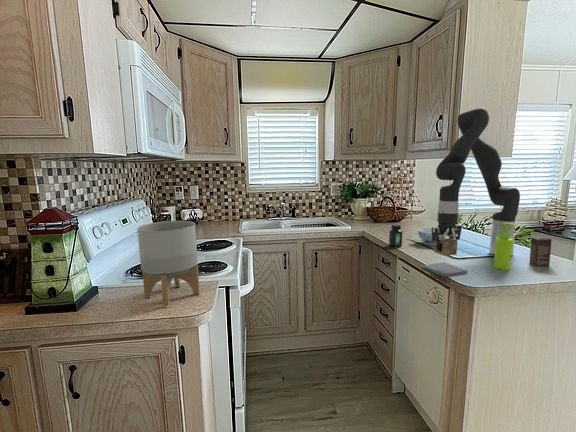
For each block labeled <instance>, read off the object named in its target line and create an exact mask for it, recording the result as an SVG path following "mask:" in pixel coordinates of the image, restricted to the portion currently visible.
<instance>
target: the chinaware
mask: <svg viewBox="0 0 576 432" xmlns="http://www.w3.org/2000/svg"><path fill="white" fill-rule="evenodd" d="M417 234H418V237H419V238H420V239H421V240H422V241H423V242H424V244H425V245H427V244H428V246H435V241H432V227H422V228H421V227H420V228H417ZM441 236H442V235H441ZM435 239H436V237H435Z"/></svg>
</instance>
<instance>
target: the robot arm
mask: <svg viewBox="0 0 576 432" xmlns="http://www.w3.org/2000/svg"><path fill="white" fill-rule="evenodd" d="M489 120H490V115H489V113H488V110H487V109H486V108H484V107H478V108H475V109H471V110H468V111H465V112H462V113H460V114H459V115H458V117H457V125H458V128H459V131H460V132H461V136H460V137H459V138H458V139H457V140H456V141H455V142H454V143H453V145H452V146H451V149H450V151H449V153H448V154H447V156H446V157H444V158H443V159H442V161H441V162H439V164H438V166H437V167H436V169H435V175H436V177H437V179H439V180H440V181H452V183H451V184H450V185H443V186H441V187H440V189H439V200H438V201H439V202H438V205H437V221H436V222H437V223H438V225H437V226H436V227H431V228H432V241H435V242H436V250H437V251H438V252H442V241H443V239H445V238H446V237H447V238H450V239H453V240H458V241H459V240H460V239H461V234H462V230H463V229H462V228H463V226H462V225H459V224H458V225H457V223H458V221H459V220H458V219H459V217H458V216H459V206H460V205H459V194H460V189H461V185H462V183H463V180H464V178H465V175H466V170H467V169H466V166H465V165H464V164H465V162H466V161H467V159H468V157H469V154H470V151H471V153H472V155H473V158H474V159H475V163H476V164H477V168H478V169H479V171H480V173H481V176H482V178H483V181H484V183H485V186H486V189H487V193H488V197H489V199H490V202H492V204H493V205H496V206H501V207H502V210H501V211H498V212H495V213H493V214H492V222H491V230H490V231H491V233H490V243H489V253H490V254H491V255H493V254H495V247H496V238H497V237H500V231H501V230H502V229H503V224H501V223H513V224H516V217H517V215H518V212H519V207H520V200H521V193H520V190H519V189H518V188H517V187H509V186H503V185H502V184H501V182H500V179H499V177H500V172H501V169H502V160H501V157H500V155H499V152H498V150H497V149H496V148H495V147H494V146H493V145H491V144H490V143H488V142H486V141H485V140H483V139H482V138H481V135H482V134H483V132H484V131H485V129H486V128H487V127H488V124H489ZM515 227H516V226H511V225H508V230H509V231H510V237H509V238H511V239H513V244H512V254H511V256H512V255H514V248H515V238H516V237H515V229H516V228H515ZM441 235H442V236H441ZM435 237H436V239H435ZM439 239H440V240H439Z"/></svg>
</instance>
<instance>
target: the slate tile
mask: <svg viewBox="0 0 576 432" xmlns="http://www.w3.org/2000/svg"><path fill="white" fill-rule="evenodd" d="M422 269H425V270H426V271H429V272H431V273H434V274H436V275H439V276H441V277H444V278H445V277H453V276H458V275H464V274H468V269H465V268H462V267H459V266H456V265H453V264H451V263H448V262H446V261H444V262H438V263H429V264H423V266H422Z"/></svg>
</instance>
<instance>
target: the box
mask: <svg viewBox="0 0 576 432" xmlns="http://www.w3.org/2000/svg"><path fill="white" fill-rule="evenodd" d="M551 249H552V239H551V238H549V237H531V238H530V252H529V264H530V265H532V266H535V267H539V266H540V267H541V266H543V267H545V266H550V263H551V261H550V260H551V252H552V250H551Z"/></svg>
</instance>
